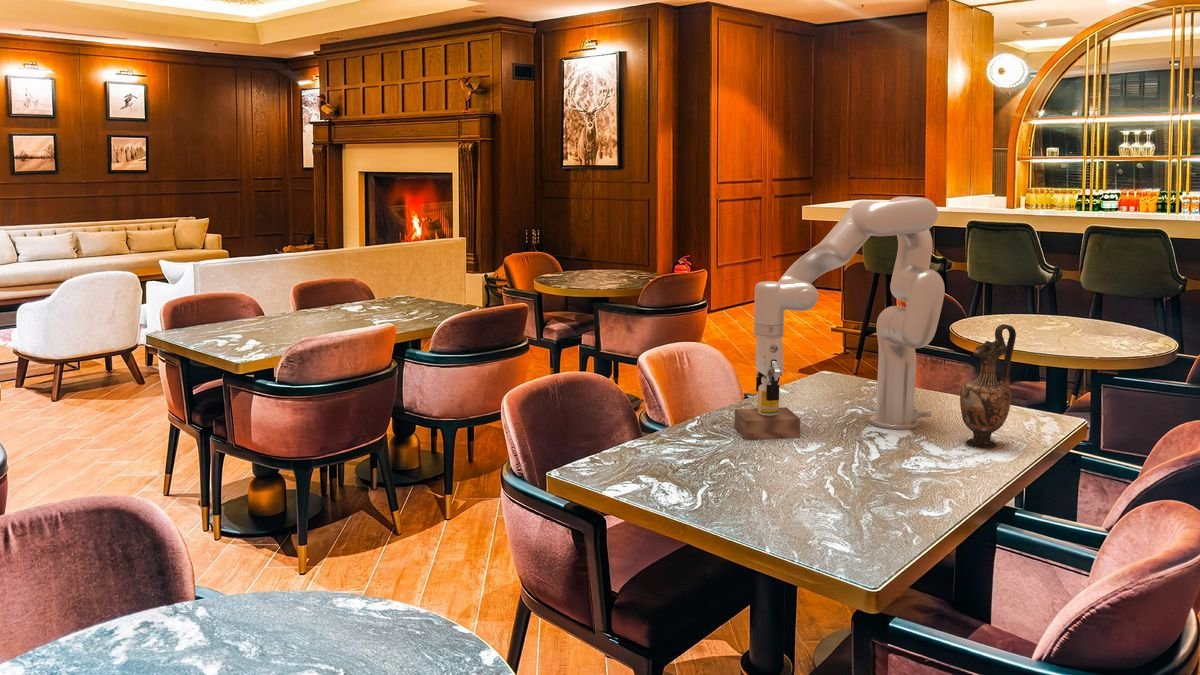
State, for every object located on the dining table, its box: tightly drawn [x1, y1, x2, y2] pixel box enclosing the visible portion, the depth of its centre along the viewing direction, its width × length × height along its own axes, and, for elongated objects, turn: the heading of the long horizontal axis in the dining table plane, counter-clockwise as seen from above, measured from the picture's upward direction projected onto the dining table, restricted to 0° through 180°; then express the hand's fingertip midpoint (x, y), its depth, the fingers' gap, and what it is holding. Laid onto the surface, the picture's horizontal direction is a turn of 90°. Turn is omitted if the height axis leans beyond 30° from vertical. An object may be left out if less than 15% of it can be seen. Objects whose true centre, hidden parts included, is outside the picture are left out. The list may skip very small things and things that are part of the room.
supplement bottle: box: [757, 376, 780, 416], centre depth 245 cm, size 5×5×10 cm
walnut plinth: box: [734, 406, 801, 441], centre depth 246 cm, size 14×12×5 cm
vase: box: [959, 323, 1017, 450], centre depth 232 cm, size 12×12×30 cm
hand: (767, 395), depth 245 cm, fingers open, 9 cm apart
